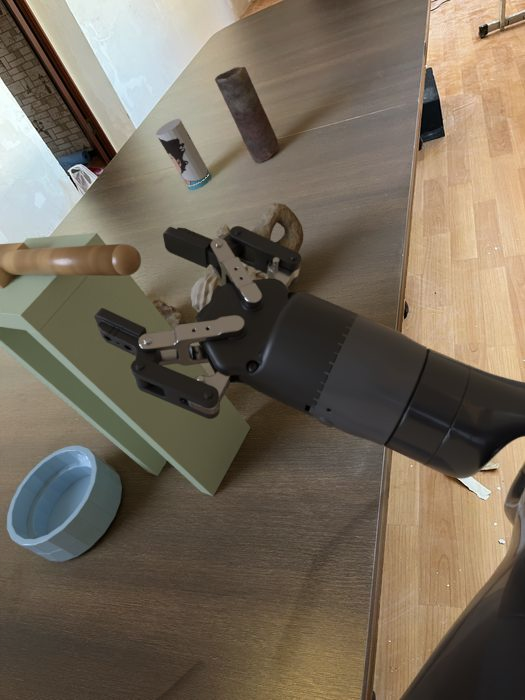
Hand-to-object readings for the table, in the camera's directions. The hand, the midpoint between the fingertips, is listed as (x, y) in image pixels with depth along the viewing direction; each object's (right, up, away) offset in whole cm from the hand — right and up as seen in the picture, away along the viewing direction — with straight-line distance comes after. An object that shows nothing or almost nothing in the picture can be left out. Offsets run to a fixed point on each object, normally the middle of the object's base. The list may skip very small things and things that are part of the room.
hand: (134, 276), depth 36 cm
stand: (+1, -19, +30) cm, 35 cm away
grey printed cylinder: (-7, +37, +90) cm, 97 cm away
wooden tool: (-8, +1, +6) cm, 10 cm away
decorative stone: (-9, -5, +50) cm, 51 cm away
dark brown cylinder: (+11, +42, +83) cm, 94 cm away
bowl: (-15, -27, +31) cm, 44 cm away
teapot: (+10, +3, +45) cm, 46 cm away
